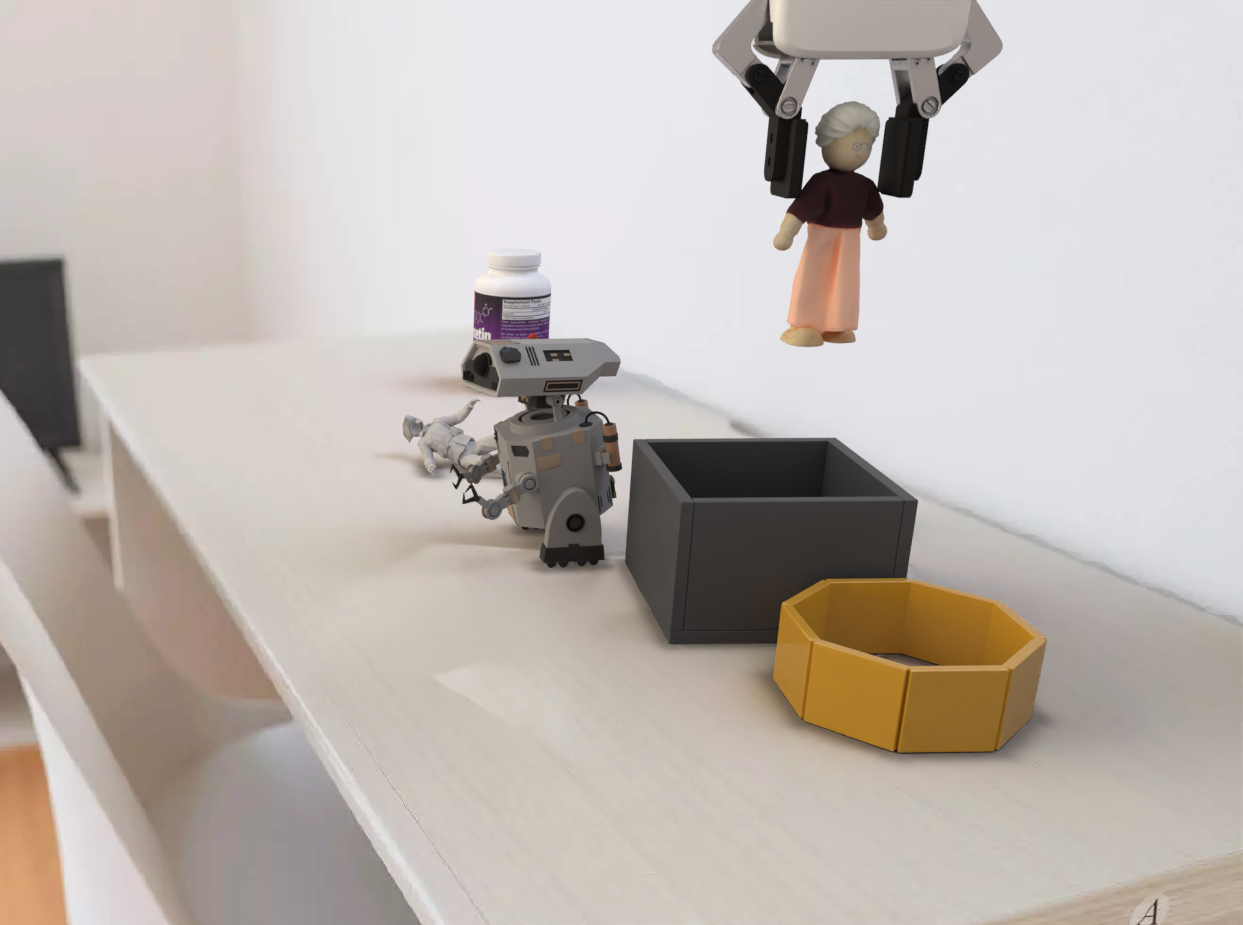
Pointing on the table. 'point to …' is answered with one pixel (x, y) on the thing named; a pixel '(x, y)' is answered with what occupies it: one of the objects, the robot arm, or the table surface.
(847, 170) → the grandmother figurine
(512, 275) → the pill bottle
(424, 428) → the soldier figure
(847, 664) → the yellow octagonal ring
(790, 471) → the bin
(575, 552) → the figurine
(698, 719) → the table surface
